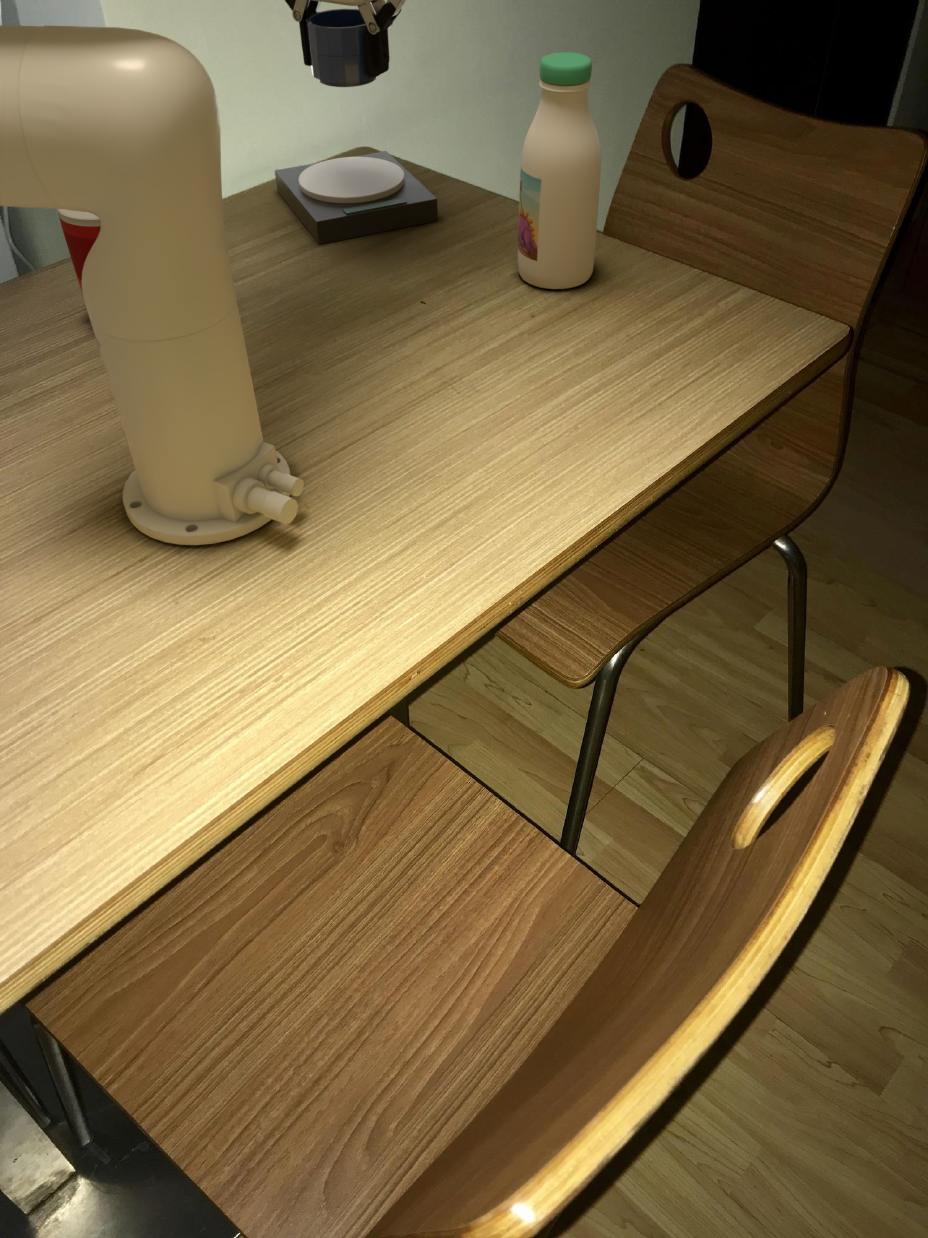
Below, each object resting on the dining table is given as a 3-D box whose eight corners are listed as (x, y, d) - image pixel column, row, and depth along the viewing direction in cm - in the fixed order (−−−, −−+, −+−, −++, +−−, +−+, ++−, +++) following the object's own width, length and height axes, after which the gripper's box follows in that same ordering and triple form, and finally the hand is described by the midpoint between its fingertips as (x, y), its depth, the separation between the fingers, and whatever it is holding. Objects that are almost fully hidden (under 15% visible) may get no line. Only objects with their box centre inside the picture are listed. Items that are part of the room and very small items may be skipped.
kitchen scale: (438, 220, 111) (437, 191, 109) (319, 244, 107) (315, 214, 105) (387, 171, 122) (385, 144, 120) (277, 191, 118) (273, 163, 116)
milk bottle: (598, 261, 104) (616, 47, 89) (585, 295, 98) (601, 74, 84) (526, 253, 105) (533, 42, 91) (509, 286, 100) (513, 68, 86)
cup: (395, 73, 105) (391, 13, 101) (355, 92, 101) (350, 31, 97) (340, 63, 108) (334, 5, 104) (299, 81, 103) (291, 21, 99)
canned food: (153, 337, 94) (123, 221, 86) (75, 330, 95) (39, 215, 87) (185, 299, 99) (159, 187, 91) (111, 292, 100) (80, 181, 92)
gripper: (227, -146, 92) (258, 65, 104) (382, -132, 85) (395, 91, 98) (278, -157, 96) (302, 46, 109) (429, -145, 90) (436, 70, 102)
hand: (346, 66), depth 103 cm, fingers closed on cup, 7 cm apart
